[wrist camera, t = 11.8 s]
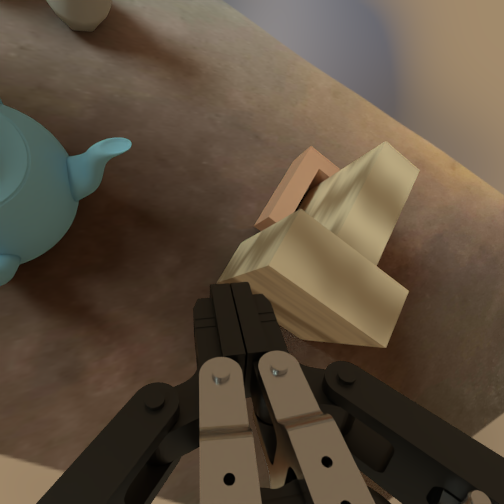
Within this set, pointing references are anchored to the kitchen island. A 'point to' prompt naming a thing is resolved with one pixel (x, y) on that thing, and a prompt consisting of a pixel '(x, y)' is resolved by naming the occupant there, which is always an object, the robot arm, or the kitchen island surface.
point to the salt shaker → (81, 12)
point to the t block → (334, 255)
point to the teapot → (41, 186)
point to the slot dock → (296, 186)
